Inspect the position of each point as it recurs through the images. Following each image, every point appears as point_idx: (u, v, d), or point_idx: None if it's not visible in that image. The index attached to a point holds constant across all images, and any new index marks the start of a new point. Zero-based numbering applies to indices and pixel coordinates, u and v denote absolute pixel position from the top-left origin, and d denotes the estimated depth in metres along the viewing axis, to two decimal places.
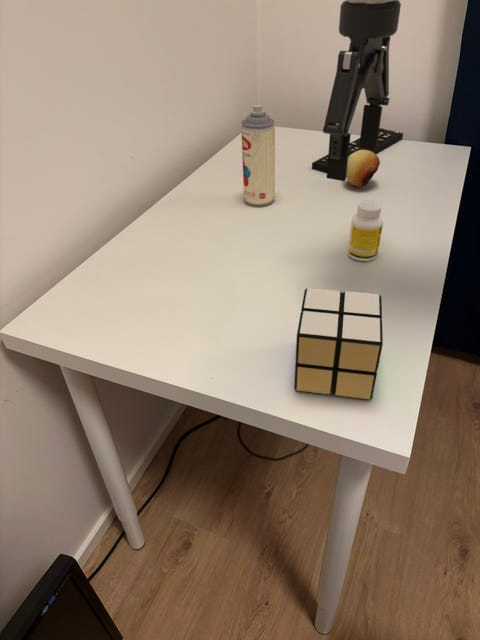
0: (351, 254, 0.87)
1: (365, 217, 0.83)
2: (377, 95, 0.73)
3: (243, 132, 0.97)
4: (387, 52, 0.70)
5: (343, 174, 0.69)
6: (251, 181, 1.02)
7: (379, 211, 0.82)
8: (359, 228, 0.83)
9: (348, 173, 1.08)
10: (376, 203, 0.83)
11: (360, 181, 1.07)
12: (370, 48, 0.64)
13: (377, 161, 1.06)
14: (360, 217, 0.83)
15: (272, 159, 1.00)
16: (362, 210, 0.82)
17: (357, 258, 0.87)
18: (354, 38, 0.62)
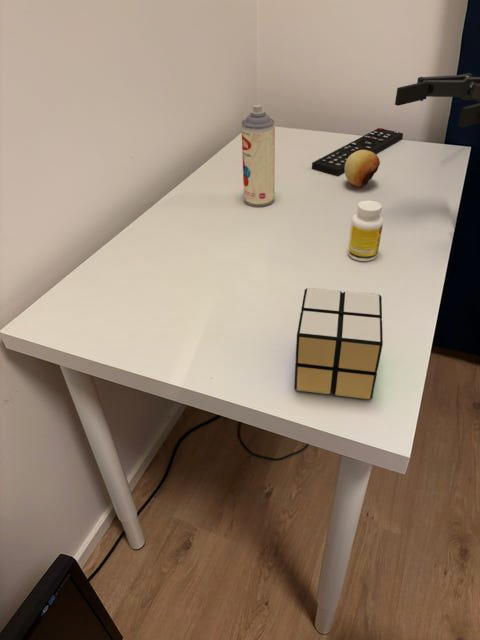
0: (351, 254, 0.87)
1: (365, 217, 0.83)
2: (436, 93, 0.84)
3: (243, 132, 0.97)
4: None
5: (467, 125, 0.73)
6: (251, 181, 1.02)
7: (379, 211, 0.82)
8: (359, 228, 0.83)
9: (348, 173, 1.08)
10: (376, 203, 0.83)
11: (360, 181, 1.07)
12: None
13: (377, 161, 1.06)
14: (360, 217, 0.83)
15: (272, 159, 1.00)
16: (362, 210, 0.82)
17: (357, 258, 0.87)
18: None
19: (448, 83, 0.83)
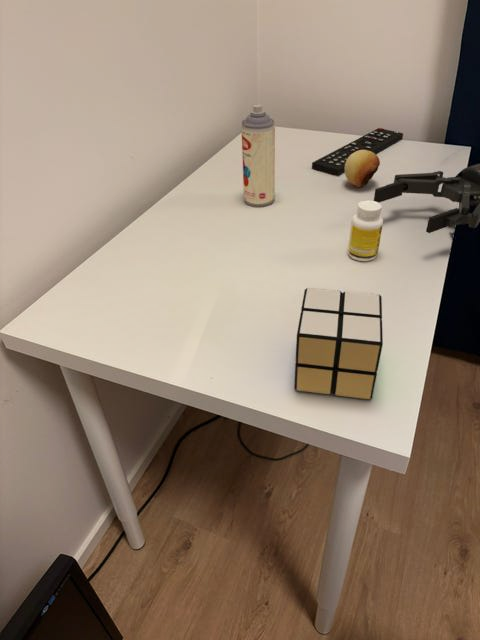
0: (351, 254, 0.87)
1: (365, 217, 0.83)
2: (411, 190, 0.95)
3: (243, 132, 0.97)
4: None
5: (433, 231, 0.84)
6: (251, 181, 1.02)
7: (379, 211, 0.82)
8: (359, 228, 0.83)
9: (348, 173, 1.08)
10: (376, 203, 0.83)
11: (360, 181, 1.07)
12: None
13: (377, 161, 1.06)
14: (360, 217, 0.83)
15: (272, 159, 1.00)
16: (362, 210, 0.82)
17: (357, 258, 0.87)
18: None
19: (421, 183, 0.94)
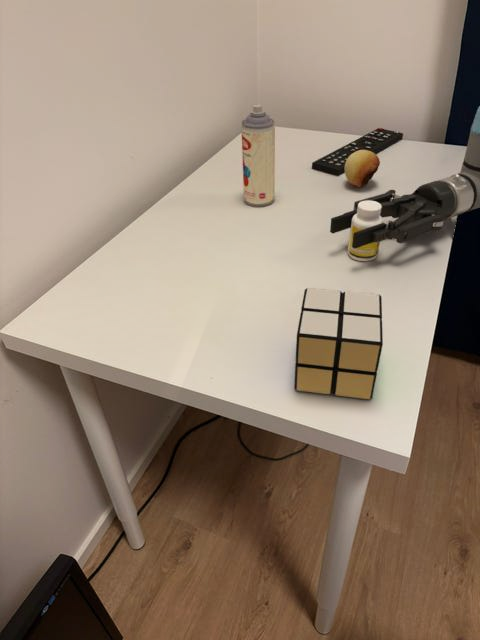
0: (351, 254, 0.87)
1: (365, 217, 0.83)
2: None
3: (243, 132, 0.97)
4: None
5: (359, 246, 0.82)
6: (251, 181, 1.02)
7: (379, 211, 0.82)
8: (359, 228, 0.83)
9: (348, 173, 1.08)
10: (376, 203, 0.83)
11: (360, 181, 1.07)
12: None
13: (377, 161, 1.06)
14: (360, 217, 0.83)
15: (272, 159, 1.00)
16: (362, 210, 0.82)
17: (357, 258, 0.87)
18: (441, 211, 0.87)
19: None
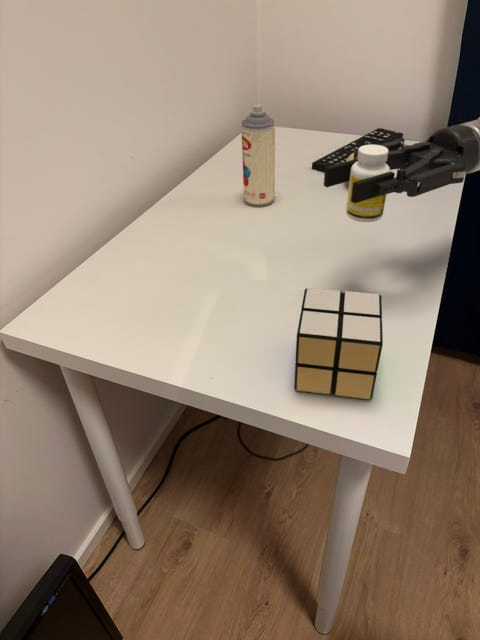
0: (350, 214, 0.70)
1: (367, 165, 0.66)
2: None
3: (243, 132, 0.97)
4: None
5: (360, 200, 0.65)
6: (251, 181, 1.02)
7: (385, 156, 0.65)
8: (359, 179, 0.66)
9: None
10: (381, 147, 0.66)
11: None
12: None
13: None
14: (361, 165, 0.66)
15: (272, 159, 1.00)
16: (363, 155, 0.65)
17: (357, 218, 0.70)
18: (462, 160, 0.70)
19: None
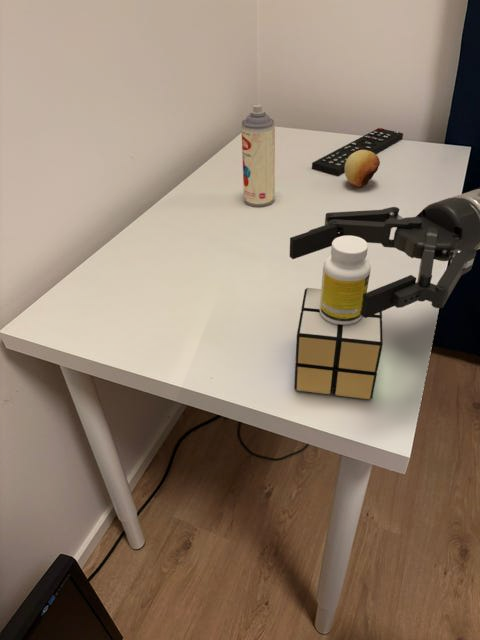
0: (324, 314, 0.59)
1: (342, 263, 0.54)
2: None
3: (243, 132, 0.97)
4: None
5: (373, 314, 0.51)
6: (251, 181, 1.02)
7: (364, 253, 0.53)
8: (333, 279, 0.55)
9: (348, 173, 1.08)
10: (360, 240, 0.55)
11: (360, 181, 1.07)
12: None
13: (377, 161, 1.06)
14: (335, 262, 0.55)
15: (272, 159, 1.00)
16: (338, 252, 0.53)
17: (332, 320, 0.58)
18: (461, 244, 0.58)
19: (363, 227, 0.61)
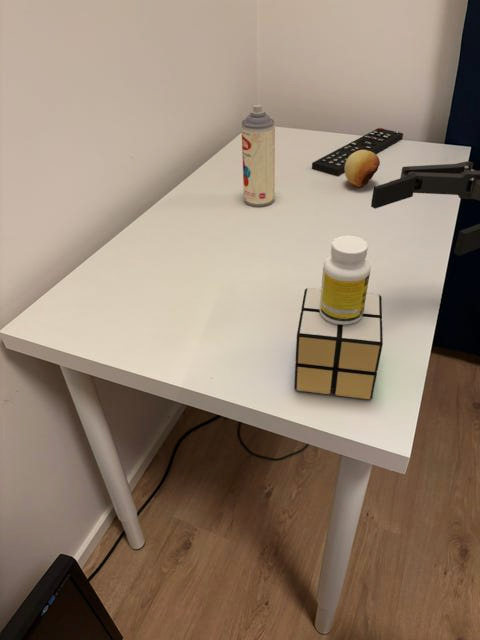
0: (324, 314, 0.59)
1: (342, 263, 0.54)
2: (426, 190, 0.65)
3: (243, 132, 0.97)
4: None
5: (466, 252, 0.53)
6: (251, 181, 1.02)
7: (364, 254, 0.53)
8: (333, 279, 0.55)
9: (348, 173, 1.08)
10: (360, 240, 0.55)
11: (360, 181, 1.07)
12: None
13: (377, 161, 1.06)
14: (335, 262, 0.55)
15: (272, 159, 1.00)
16: (337, 252, 0.53)
17: (332, 320, 0.58)
18: None
19: (441, 178, 0.63)
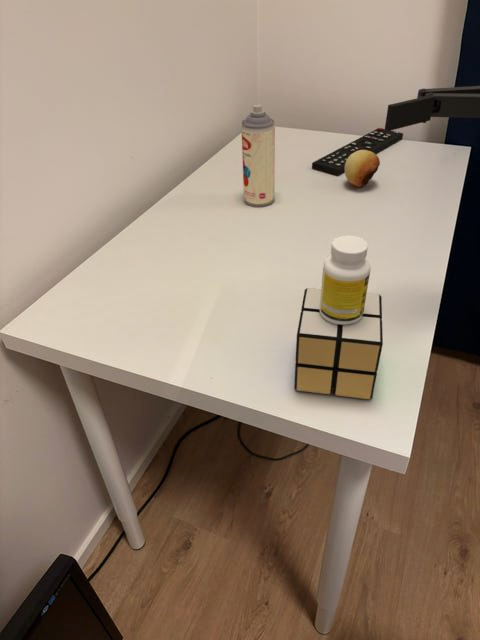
0: (324, 314, 0.59)
1: (342, 263, 0.54)
2: (445, 113, 0.59)
3: (243, 132, 0.97)
4: None
5: None
6: (251, 181, 1.02)
7: (364, 253, 0.53)
8: (333, 279, 0.55)
9: (348, 173, 1.08)
10: (360, 240, 0.55)
11: (360, 181, 1.07)
12: None
13: (377, 161, 1.06)
14: (335, 262, 0.55)
15: (272, 159, 1.00)
16: (337, 252, 0.53)
17: (332, 320, 0.58)
18: None
19: (462, 98, 0.57)
